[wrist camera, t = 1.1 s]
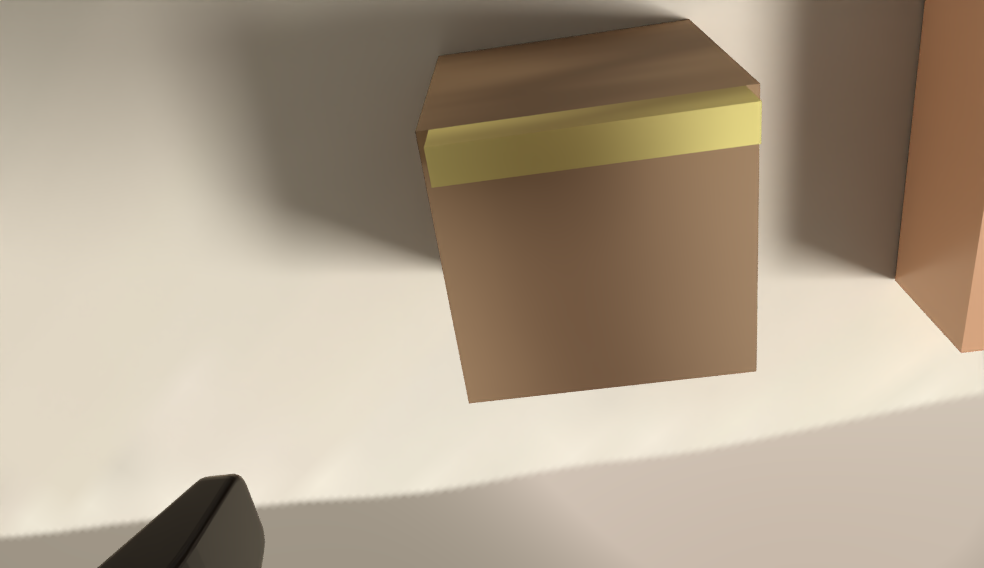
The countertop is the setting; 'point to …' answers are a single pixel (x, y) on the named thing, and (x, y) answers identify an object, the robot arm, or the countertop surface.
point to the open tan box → (947, 175)
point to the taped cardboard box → (596, 209)
